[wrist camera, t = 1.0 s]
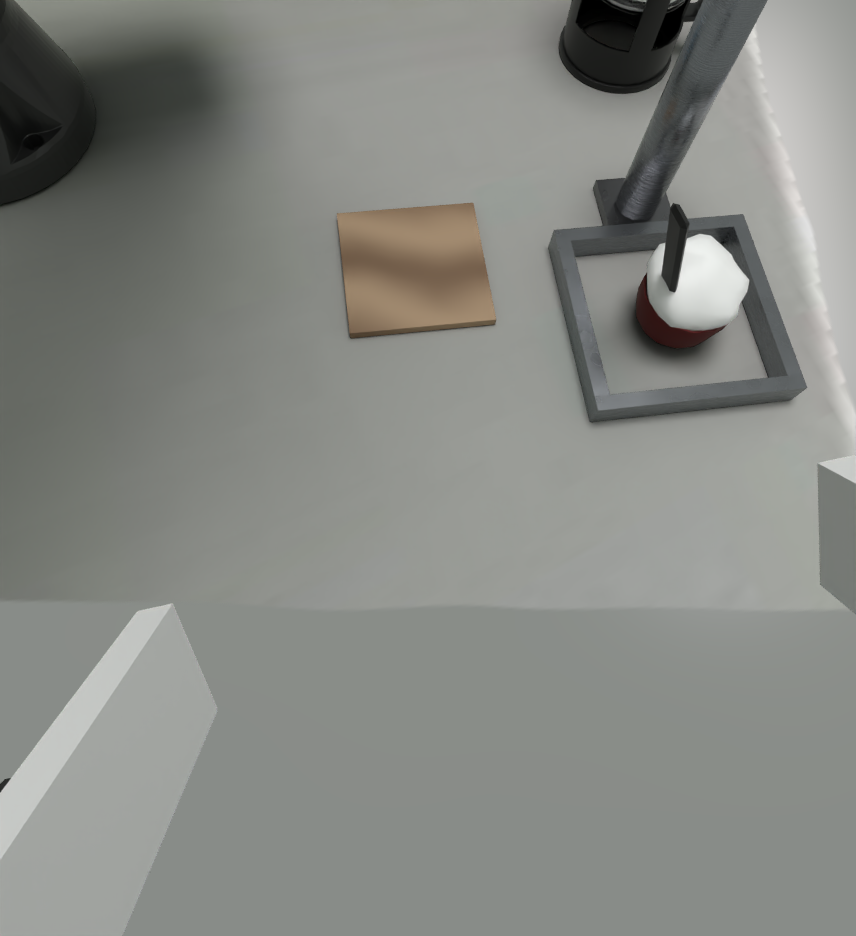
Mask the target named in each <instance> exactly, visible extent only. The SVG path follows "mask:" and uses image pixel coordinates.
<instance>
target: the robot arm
mask: <svg viewBox="0 0 856 936" xmlns="http://www.w3.org/2000/svg"><path fill="white" fill-rule="evenodd" d="M95 122H96V112H95V106H94V102H93V99H92V96H91V94H90V92H89V90H88V88H87V86H86V84H85V83H84V81H83V79H82V77H81V75H80V73H79V71H78V69H77V68H76V66H75V65H74V63H73V62H72V61H71V59H70V58H69V57H68V56H67V54H66V53H65V52H64V51H63V50H62V49H61V48H60V47H59V46H57V44H56V43H55V42H54V41H53V40H52V39H51V38H50V37H49V36H48V35H47V34H46V33H45V32H44V31H43V30H42V28H41V27H40V26H39V25H38V24H37V23H36V22H35V21H34V20H33V19H32V18H31V17H30V16H29V15H28V14H27V13H26V12H25V11H24V10H23V9H22V8H21V7H20V6H19V5H18V4H17V3H16V2H15V1H14V0H0V204H3V203H8V202H11V201H15V200H18V199H21V198H24V197H26V196H29V195H31V194H34V193H36V192H38V191H40V190H42V189H44V188H46V187H47V186H49V185H51V184H52V183H54V182H55V181H57V180H58V179H59V178H61V177H62V176H63V175H64V174H66V173H67V172H68V171H69V170H70V169H71V168H72V167H73V166H74V165H75V164H76V163H77V161H78V160H79V159H80V158H81V156H82V155H83V154H84V152H85V150H86V149H87V147H88V145H89V143H90V141H91V138H92V136H93V133H94V128H95ZM817 464H818V509H819V554H820V585H821V586H822V587H823V588H825V589H826V590H827V591H828V592H830V593H831V594H832V595H833V596H834V597H836V598H837V599H838V600H839V601H840V602H842V603H843V604H844V605H845V606H846V607H848V608H849V609H850V610H851V611H852V612H854V613H855V614H856V455H852V456H847V457H843V458H838V459H834V460H829V461H824V462H820V463H817ZM217 710H218V709H217V706H216V704H215V702H214V699H213V697H212V695H211V692H210V690H209V688H208V685H207V683H206V681H205V678H204V676H203V673H202V671H201V669H200V666H199V664H198V662H197V659H196V657H195V654H194V652H193V650H192V647H191V645H190V643H189V640H188V638H187V636H186V633H185V631H184V628H183V626H182V624H181V621H180V619H179V617H178V614H177V612H176V610H175V607H174V605H173V603H172V604H168V605H163V606H159V607H154V608H149V609H145V610H140V611H137V612H136V614H135V615H134V617H133V618H132V619H131V620H130V622H129V623H128V624H127V626H126V627H125V628H124V630H123V631H122V632H121V634H120V635H119V636H118V638H117V639H116V640H115V642H114V643H113V644H112V645H111V647H110V648H109V650H108V651H107V652H106V653H105V655H104V656H103V657H102V659H101V660H100V661H99V663H98V664H97V665H96V667H95V668H94V669H93V671H92V672H91V673H90V675H89V676H88V677H87V679H86V680H85V681H84V683H83V684H82V685H81V687H80V688H79V689H78V691H77V692H76V693H75V695H74V696H73V697H72V698H71V700H70V701H69V702H68V704H67V705H66V706H65V708H64V709H63V710H62V712H61V713H60V714H59V716H58V717H57V718H56V720H55V721H54V722H53V724H52V725H51V726H50V728H49V729H48V730H47V732H46V733H45V734H44V735H43V737H42V738H41V740H40V741H39V742H38V743H37V745H36V746H35V747H34V749H33V750H32V751H31V753H30V754H29V756H28V757H27V758H26V759H25V761H24V762H23V763H22V765H21V766H20V767H19V769H18V770H17V771H16V773H15V774H14V775H13V777H12V778H9V779H5V780H4V781H3V782H2V783H1V784H0V936H123V933H124V931H125V929H126V926H127V924H128V922H129V919H130V917H131V914H132V912H133V910H134V907H135V905H136V903H137V900H138V898H139V895H140V893H141V891H142V888H143V886H144V883H145V881H146V879H147V876H148V874H149V872H150V869H151V867H152V865H153V862H154V860H155V858H156V855H157V853H158V850H159V848H160V846H161V843H162V841H163V839H164V836H165V834H166V831H167V829H168V827H169V824H170V822H171V820H172V817H173V815H174V812H175V810H176V808H177V805H178V803H179V801H180V798H181V795H182V793H183V791H184V788H185V786H186V784H187V781H188V779H189V777H190V774H191V772H192V770H193V767H194V765H195V762H196V760H197V758H198V755H199V753H200V751H201V748H202V746H203V744H204V741H205V739H206V737H207V734H208V732H209V729H210V727H211V725H212V722H213V720H214V718H215V715H216V713H217Z"/></svg>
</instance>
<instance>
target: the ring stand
mask: <svg viewBox="0 0 856 936" xmlns="http://www.w3.org/2000/svg"><path fill="white" fill-rule="evenodd" d="M766 2H767V0H703V2H702V4H701V6H700V9H699V11H698V13H697V16H696V18H695V20H694V22H693V25H692V27H691V29H690V32H689V34H688V36H687V38H686V41H685V43H684V45H683V48H682V50H681V52H680V54H679V57H678V59H677V61H676V64H675V66H674V68H673V71H672V73H671V75H670V77H669V80H668V82H667V84H666V87H665V89H664V91H663V93H662V96H661V98H660V100H659V103H658V105H657V107H656V109H655V112H654V114H653V116H652V119H651V121H650V123H649V125H648V128H647V130H646V132H645V135H644V137H643V139H642V141H641V144H640V146H639V148H638V151H637V153H636V155H635V158H634V160H633V162H632V164H631V167H630V169H629V171H628V174H627V176H626V178H618V179H606V180H596V182H595V185H594V187H593V190H594V193H595V197H596V201H597V204H598V208H599V211H600V215H601V219H602V222H603V226H597V227H585V228H573V229H561V230H554V232H553V235H552V238H551V241H550V244H549V247H548V248H549V252H550V256H551V260H552V264H553V269H554V273H555V277H556V281H557V285H558V290H559V294H560V298H561V302H562V306H563V311H564V315H565V319H566V323H567V327H568V331H569V336H570V340H571V344H572V348H573V352H574V357H575V361H576V365H577V369H578V373H579V378H580V382H581V386H582V390H583V394H584V398H585V403H586V407H587V411H588V415H589V419H590V422H595V421H604V420H613V419H622V418H631V417H640V416H650V415H659V414H668V413H677V412H686V411H695V410H704V409H713V408H722V407H731V406H740V405H749V404H758V403H768V402H777V401H786V400H792V399H793V398H794V397H796V396H797V395H798V394H800V393H801V392H802V391H804V390H805V389H806V388H807V386H806V383H805V380H804V378H803V375H802V372H801V370H800V367H799V364H798V361H797V359H796V356H795V353H794V351H793V348H792V345H791V342H790V340H789V337H788V334H787V332H786V329H785V326H784V324H783V321H782V318H781V315H780V313H779V310H778V307H777V305H776V302H775V299H774V297H773V294H772V291H771V288H770V286H769V283H768V280H767V278H766V275H765V272H764V269H763V267H762V264H761V261H760V259H759V256H758V253H757V251H756V248H755V245H754V242H753V240H752V237H751V234H750V232H749V229H748V226H747V223H746V221H745V218H744V215H743V214H740V215H728V216H716V217H704V218H692V219H688V221H689V223H690V225H689V230H688V235H687V238H690V237H693V236H695V235H698V234H704V235H710V236H712V237H713V238H714V239H715V240H716V241H717V242H719V243H720V244H722V245H723V247H724V248H725V249H726V250H727V251H728V252H729V253H730V254H731V255H732V257H733V259H734V261H735V262H736V264H737V265H738V267H739V268H740V269H741V271H742V272H743V273H744V274H745V275H746V277H747V278H748V279H749V285H748V290H747V293H746V295H745V296H744V298H743V299H742V303H743V305H744V308H745V311H746V314H747V317H748V320H749V323H750V325H751V328H752V331H753V334H754V337H755V340H756V343H757V346H758V348H759V351H760V354H761V357H762V360H763V363H764V366H765V368H766V371H767V374H768V377H769V378H761V379H752V380H742V381H733V382H724V383H714V384H705V385H696V386H686V387H677V388H667V389H658V390H649V391H639V392H630V393H621V394H611V395H610V393H609V389H608V385H607V381H606V377H605V373H604V369H603V365H602V362H601V358H600V354H599V350H598V346H597V342H596V338H595V334H594V330H593V326H592V322H591V318H590V314H589V310H588V306H587V302H586V299H585V295H584V291H583V287H582V283H581V279H580V275H579V271H578V267H577V263H576V259H575V256H585V255H596V254H608V253H619V252H630V251H642V250H653V249H656V248H657V247H658V246H659V244H662V243H666V236H667V229H668V221H669V214H670V208H671V207H670V204H669V201H668V198H667V195H666V191H667V189H668V187H669V185H670V183H671V182H672V180H673V178H674V176H675V174H676V172H677V170H678V168H679V166H680V165H681V163H682V161H683V159H684V157H685V155H686V153H687V151H688V149H689V148H690V146H691V144H692V142H693V140H694V138H695V136H696V134H697V132H698V131H699V129H700V127H701V125H702V123H703V121H704V119H705V117H706V115H707V114H708V112H709V110H710V108H711V106H712V104H713V102H714V100H715V98H716V97H717V95H718V93H719V91H720V89H721V87H722V85H723V83H724V81H725V80H726V78H727V76H728V74H729V72H730V70H731V68H732V66H733V65H734V63H735V61H736V59H737V57H738V55H739V53H740V51H741V49H742V48H743V46H744V44H745V42H746V40H747V38H748V36H749V34H750V32H751V31H752V29H753V27H754V25H755V23H756V21H757V19H758V17H759V15H760V14H761V12H762V10H763V8H764V6H765V4H766Z"/></svg>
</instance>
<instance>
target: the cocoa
mask: <svg viewBox="0 0 856 936" xmlns="http://www.w3.org/2000/svg"><path fill="white" fill-rule="evenodd" d="M689 225H690V223H689V221H688V219H687V218H686V216H685V214H684V212H683V210H682V208H681V207H680V205H678V204H674V203H673V204H672V206H671V208H670V214H669V221H668V229H667V236H666V243H662V244H659V246H658V247H657V248H656V250H655V251H654V253H653V254H652V256H651V258H650V259H649V261H648V263H647V273H646V275H645V276H644V278H643V280H642V282H641V284H640V286H639V289H638V293H637V300H636V317H637V319H638V321H639V323H640V325H641V327H642V329H643V330H644V332H645V333H646V334H647V335H648V336H649V337H651V338H652V339H653V340H654V341H656V342H657V343H659V344H662V345H666V346H669V347H672V348H685V347H694V346H696V345H698V344H700V343H701V342H703V341H705V340H706V339H708V338H709V337H711V336H713V335H714V334H716V333H717V332H719V331H721V330H722V329H723V328H724V327H725V326H726V325H727V324H729V323H730V322H731V321H732V320H734V319H735V318H736V317H737V316H738V311H739V306H740V303H741V301H742V299H743V298H744V296H745V295H746V293H747V290H748V285H749V279H748V278H747V277H746V275H745V274H744V273H743V272H742V271H741V269H740V268H739V267H738V265H737V264H736V262H735V261H734V259H733V257H732V255H731V254H730V253H729V252H728V251H727V250H726V249H725V248H724V247H723V246H722V245H721V244H720V243H719V242H717V241H716V240H715V239H714V238H713V237H712V236H710V235H704V234H698V235H695V236H693V237H690V238H687V235H688V230H689Z"/></svg>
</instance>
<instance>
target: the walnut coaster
mask: <svg viewBox="0 0 856 936" xmlns="http://www.w3.org/2000/svg"><path fill="white" fill-rule="evenodd" d="M337 219H338V228H339V238H340V247H341V256H342V266H343V275H344V284H345V294H346V303H347V312H348V322H349V331H350V338H358V337H368V336H379V335H389V334H400V333H410V332H421V331H431V330H441V329H452V328H462V327H473V326H483V325H494V324H495V322H496V316H495V311H494V306H493V301H492V296H491V291H490V286H489V280H488V275H487V270H486V265H485V260H484V255H483V250H482V245H481V240H480V235H479V230H478V225H477V219H476V214H475V209H474V204H473V203H464V204H451V205H439V206H426V207H413V208H401V209H388V210H376V211H363V212H351V213H338V214H337Z"/></svg>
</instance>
